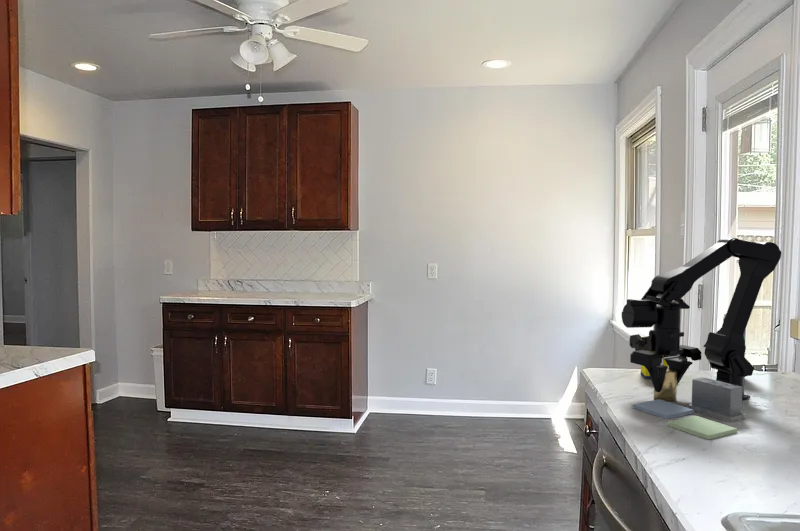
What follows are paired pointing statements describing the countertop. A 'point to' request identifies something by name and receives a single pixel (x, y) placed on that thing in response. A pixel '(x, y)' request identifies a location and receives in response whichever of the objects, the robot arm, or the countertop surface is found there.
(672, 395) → the gold metal cylinder
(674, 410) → the slate mat
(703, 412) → the grey block with base
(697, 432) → the sage mat
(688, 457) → the countertop surface
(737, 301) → the robot arm
